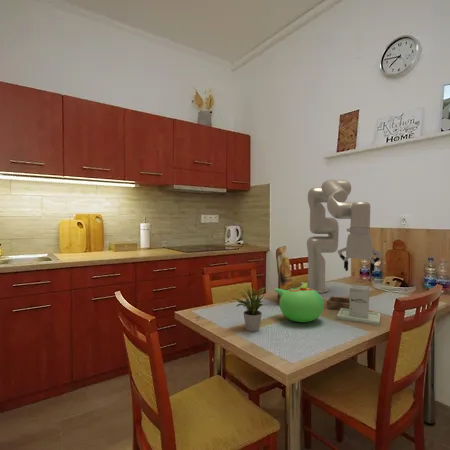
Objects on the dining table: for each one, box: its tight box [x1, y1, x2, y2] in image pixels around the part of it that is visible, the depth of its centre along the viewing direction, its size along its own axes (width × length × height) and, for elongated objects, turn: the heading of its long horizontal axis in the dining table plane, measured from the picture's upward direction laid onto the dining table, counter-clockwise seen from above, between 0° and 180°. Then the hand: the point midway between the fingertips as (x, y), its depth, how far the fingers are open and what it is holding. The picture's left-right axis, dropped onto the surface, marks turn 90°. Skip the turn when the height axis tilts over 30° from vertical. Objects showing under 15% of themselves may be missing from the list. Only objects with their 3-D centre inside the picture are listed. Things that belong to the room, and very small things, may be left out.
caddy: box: [326, 295, 350, 311], centre depth 144 cm, size 10×10×4 cm
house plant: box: [232, 286, 268, 332], centre depth 117 cm, size 14×14×16 cm
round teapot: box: [273, 282, 325, 323], centre depth 126 cm, size 18×17×15 cm
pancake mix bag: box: [275, 245, 293, 306], centre depth 153 cm, size 7×19×28 cm, turn 148°
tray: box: [336, 308, 381, 326], centre depth 129 cm, size 16×12×2 cm
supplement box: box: [349, 284, 370, 319], centre depth 128 cm, size 7×7×13 cm
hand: (358, 271), depth 129 cm, fingers open, 9 cm apart
